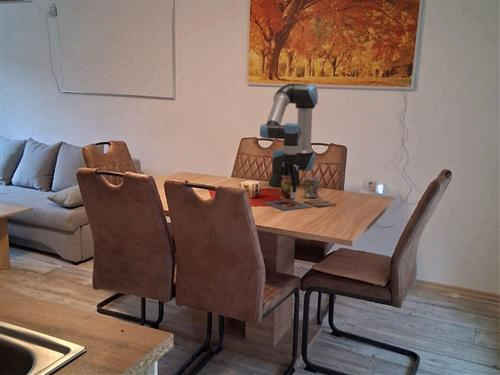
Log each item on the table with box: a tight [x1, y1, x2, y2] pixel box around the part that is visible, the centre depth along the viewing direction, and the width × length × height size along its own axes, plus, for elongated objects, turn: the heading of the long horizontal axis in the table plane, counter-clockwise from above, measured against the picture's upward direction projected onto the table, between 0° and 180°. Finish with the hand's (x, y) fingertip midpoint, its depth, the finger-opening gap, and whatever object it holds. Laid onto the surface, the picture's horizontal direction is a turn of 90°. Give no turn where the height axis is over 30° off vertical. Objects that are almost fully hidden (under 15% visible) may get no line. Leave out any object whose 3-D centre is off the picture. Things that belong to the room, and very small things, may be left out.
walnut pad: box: [303, 198, 337, 209], centre depth 253 cm, size 12×12×1 cm
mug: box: [299, 177, 321, 199], centre depth 270 cm, size 12×9×11 cm
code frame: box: [263, 199, 312, 212], centre depth 248 cm, size 18×18×1 cm
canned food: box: [279, 175, 296, 201], centre depth 247 cm, size 8×8×12 cm
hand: (287, 196), depth 248 cm, fingers closed on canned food, 8 cm apart
